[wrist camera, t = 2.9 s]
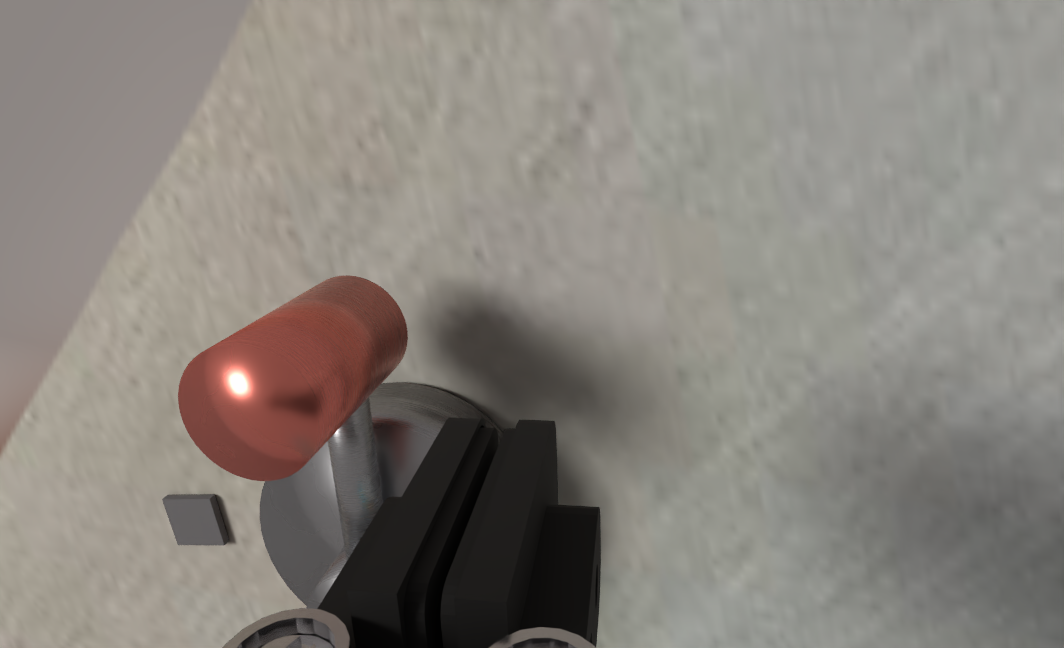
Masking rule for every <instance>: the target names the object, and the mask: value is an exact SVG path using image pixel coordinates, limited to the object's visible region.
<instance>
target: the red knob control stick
mask: <svg viewBox="0 0 1064 648" xmlns="http://www.w3.org/2000/svg"><path fill="white" fill-rule="evenodd" d="M407 340H408V335H407V326H406V322H405V319H404V316H403V314H402V312H401V310H400V308H399V306H398V305H397V303H396V302H395V300H394V299H393V298H392V297H391V296H390V295H389V294H388V293H387V292H386V291H385V290H384V289H382V288H381V287H380V286H378V285H377V284H375V283H373V282H371V281H369V280H366V279H364V278H360V277H356V276H337V277H333V278H330V279H327V280H325V281H323V282H322V283H320V284H318V285H316V286H315V287H313V288H311V289H310V290H308V291H306V292H304V293H303V294H301V295H299V296H298V297H296V298H294V299H292V300H291V301H289V302H287V303H286V304H284V305H282V306H280V307H279V308H277V309H275V310H274V311H272V312H270V313H268V314H267V315H265V316H263V317H262V318H260V319H258V320H256V321H255V322H253V323H251V324H250V325H248V326H246V327H245V328H243V329H241V330H239V331H238V332H236V333H234V334H233V335H231V336H229V337H227V338H226V339H224V340H222V341H221V342H219V343H217V344H215V345H214V346H212V347H210V348H209V349H207V350H205V351H203V352H202V353H200V354H199V355H198V356H196V357H195V358H194V359H193V360H192V361H191V362H190V363H189V364H188V366H187V367H186V369H185V370H184V373H183V375H182V377H181V381H180V385H179V392H178V401H179V409H180V413H181V417H182V420H183V423H184V425H185V427H186V429H187V431H188V433H189V435H190V437H191V438H192V440H193V441H194V442H195V444H196V445H197V446H198V447H199V449H200V450H201V451H202V452H203V453H204V454H205V455H206V456H207V457H208V458H209V459H210V460H212V461H213V462H214V463H216V464H217V465H218V466H220V467H221V468H223V469H225V470H226V471H228V472H230V473H232V474H235V475H237V476H240V477H243V478H247V479H251V480H257V481H265V483H264V486H263V489H262V494H261V501H260V523H261V531H262V535H263V539H264V542H265V546H266V548H267V551H268V553H269V556H270V558H271V560H272V562H273V564H274V566H275V568H276V569H277V571H278V573H279V574H280V576H281V577H282V579H283V580H284V582H285V583H286V584H287V586H288V587H289V588H290V589H291V590H292V591H293V593H294V594H295V595H296V596H297V597H298V598H299V599H300V600H301V601H302V602H303V603H304V604H305V605H306V606H307V608H308V609H317V608H318V607H319V605H320V604H321V602H322V600H323V599H324V597H325V596H326V594H327V592H328V591H329V589H330V587H331V586H332V584H333V583H334V581H335V579H336V578H337V576H338V575H339V573H340V571H341V570H342V568H343V567H344V565H345V563H346V562H347V560H348V558H349V557H350V555H351V554H352V552H353V550H354V549H355V547H356V546H357V544H358V542H359V541H360V539H361V537H362V536H363V534H364V533H365V531H366V529H367V528H368V526H369V525H370V523H371V521H372V520H373V518H374V517H375V515H376V513H377V512H378V510H379V508H380V507H381V505H382V504H383V502H384V501H385V500H386V499H387V498H389V497H392V496H394V497H402V495H403V493H404V492H405V490H406V488H407V487H408V485H409V483H410V481H411V480H412V478H413V476H414V475H415V473H416V471H417V469H418V468H419V466H420V464H421V463H422V461H423V459H424V457H425V456H426V454H427V452H428V451H429V449H430V447H431V445H432V444H433V442H434V440H435V439H436V437H437V435H438V434H439V432H440V430H441V428H442V427H443V425H444V423H445V422H446V420H447V419H448V418H449V417H450V418H480V419H484V420H485V423H486V428H496V429H497V432H498V441H499V443H500V440H501V438H502V435H503V432H502V431H501V430H500V429H499V428H498V427H497V426H496V425H495V424H494V423H493V422H492V421H491V420H490V419H489V418H488V417H487V416H486V415H484V414H483V413H482V412H481V411H479V410H478V409H477V408H475V407H474V406H472V405H470V404H469V403H467V402H466V401H464V400H462V399H460V398H458V397H456V396H454V395H452V394H450V393H447V392H445V391H442V390H439V389H436V388H433V387H429V386H424V385H420V384H412V383H383V384H381V383H382V382H383V381H384V380H385V379H386V378H387V377H388V376H389V375H390V373H391V372H392V371H393V370H394V369H395V368H396V367H397V366H398V364H399V363H400V362H401V360H402V358H403V356H404V354H405V351H406V347H407Z"/></svg>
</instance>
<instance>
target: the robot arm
mask: <svg viewBox="0 0 1064 648" xmlns="http://www.w3.org/2000/svg"><path fill="white" fill-rule="evenodd" d="M600 565H601V537H600V508H599V507H585V506H566V505H558V481H557V448H556V427H555V422H554V421H540V420H519V421H518V423H517V426H516V429H508V428H506V429H505V430H504V433H503V435H502V438H501V440H500V443H499V441H498V432H497V429H496V428H486V423H485V420H484V419H480V418H450V417H449V418H448V419H447V420H446V422H445V423H444V425H443V427H442V428H441V430H440V432H439V434H438V435H437V437H436V439H435V440H434V442H433V444H432V445H431V447H430V449H429V451H428V452H427V454H426V456H425V457H424V459H423V461H422V463H421V464H420V466H419V468H418V469H417V471H416V473H415V475H414V476H413V478H412V480H411V481H410V483H409V485H408V487H407V488H406V490H405V492H404V493H403V495H402V497H394V496H392V497H389V498H387V499H386V500H385V501H384V502H383V504H382V505H381V507H380V508H379V510H378V512H377V513H376V515H375V517H374V518H373V520H372V521H371V523H370V525H369V526H368V528H367V529H366V531H365V533H364V534H363V536H362V537H361V539H360V541H359V542H358V544H357V546H356V547H355V549H354V550H353V552H352V554H351V555H350V557H349V558H348V560H347V562H346V563H345V565H344V567H343V568H342V570H341V571H340V573H339V575H338V576H337V578H336V579H335V581H334V583H333V584H332V586H331V587H330V589H329V591H328V592H327V594H326V596H325V597H324V599H323V600H322V602H321V604H320V605H319V607H318V608H317V609H308V608H299V609H292V610H286V611H281V612H278V613H275V614H272V615H269V616H267V617H264V618H261V619H260V620H258V621H256V622H254V623H253V624H251V625H249V626H247V627H246V628H244V629H242V630H241V631H240V632H239V633H238V634H236V635H235V636H234V637H233V638H232V639H231V640H229V641H228V642H227V643H226V644H225V645H224V646H223V647H222V648H596V642H597V629H598V615H599V598H600Z"/></svg>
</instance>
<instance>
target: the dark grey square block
mask: <svg viewBox="0 0 1064 648" xmlns="http://www.w3.org/2000/svg"><path fill="white" fill-rule="evenodd" d="M162 500H163V503H164V506H165V509H166V512H167V515H168V518H169V521H170V523H171V526H172V529H173V532H174V535H175V538H176V541H177V544H178V545H225V544H226V543H227V542H228V541H229V538H228V535H227V532H226V529H225V526H224V523H223V519H222V516H221V513H220V510H219V507H218V504H217V500H216V497H215V495H167V496H166V497H165V498H163V499H162Z"/></svg>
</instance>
